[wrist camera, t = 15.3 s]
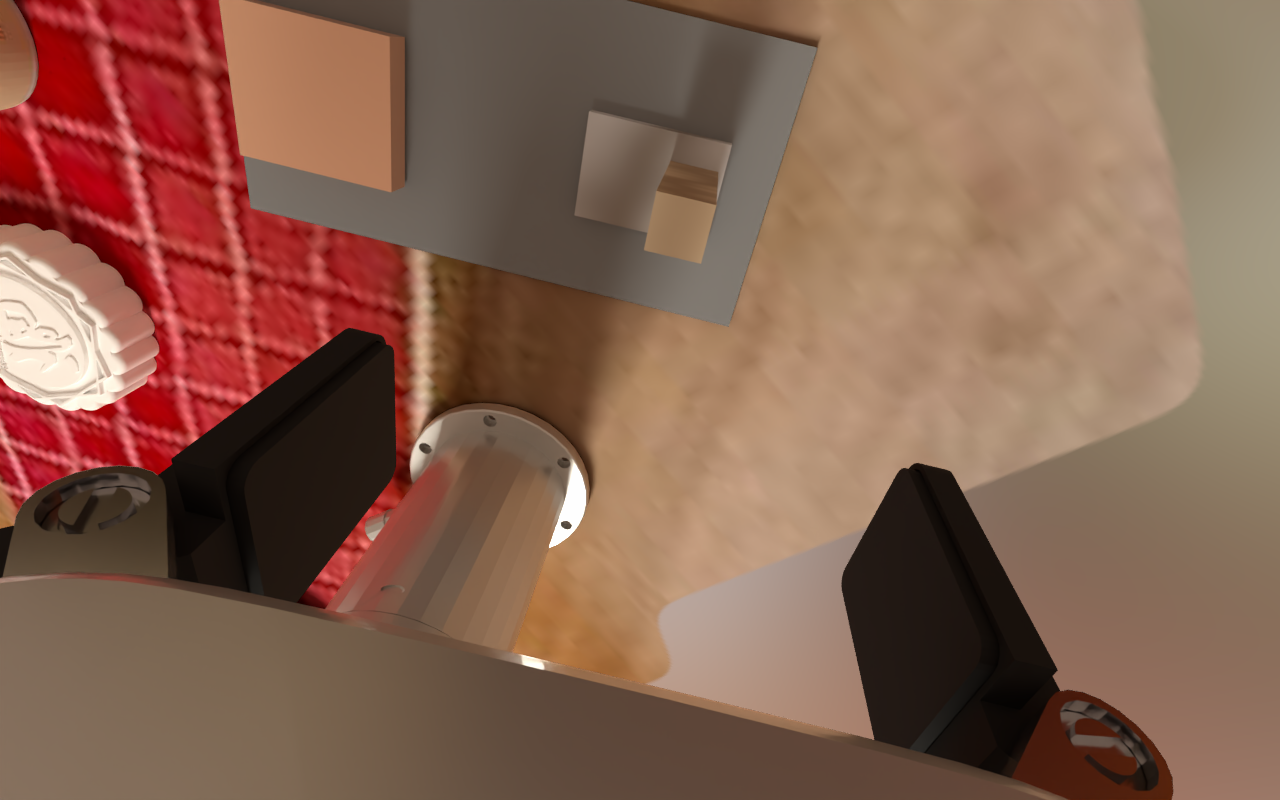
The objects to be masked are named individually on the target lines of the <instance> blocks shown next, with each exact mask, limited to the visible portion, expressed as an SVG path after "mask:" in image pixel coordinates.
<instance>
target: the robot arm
mask: <svg viewBox="0 0 1280 800" xmlns="http://www.w3.org/2000/svg"><path fill="white" fill-rule="evenodd" d="M171 460H172V465H171V466H170V467H168V468H167V469H166V470H164V471H163V472H162V473H160V474H159V475H156V474H155V473H154V472H152V471H149V470H145V469H142V468H139V467H129V466H111V467H99V468H94V469H90V470H86V471H81V472H77V473H74V474H71V475H69V476H66V477H63V478H61V479H58V480H56V481H54V482H52V483H50V484H48V485H47V486H45V487H43V488H41V489H40V490H38V491H36V492H35V493H34V494H33V495H32V496H31V497H30V498H29V499H27V500H26V501H25V502H24V503H23V504H22V506H21V508H20V510H19V512H18V514H17V516H16V519H15V524H14V526H10V527H6V528H1V529H0V800H1172V796H1173V778H1172V775H1171V773H1170V770H1169V768H1168V765H1167V763H1166V761H1165V759H1164V758H1163V756H1162V755H1161V753H1160V752H1159V750H1158V749H1157V748H1156V746H1155V745H1154V743H1153V742H1152V741H1151V740H1150V739H1149V738H1148V737H1147V736H1146V734H1145V733H1144V732H1143V731H1142V730H1141V729H1140V728H1139V727H1138V726H1137V725H1136V724H1135V723H1134V722H1132V721H1131V720H1130V719H1129V718H1127V717H1126V716H1125V715H1124V714H1123V713H1121V712H1120V711H1119V710H1117V709H1115V708H1114V707H1112V706H1111V705H1109V704H1107V703H1106V702H1104V701H1102V700H1101V699H1099V698H1096V697H1094V696H1091V695H1089V694H1086V693H1084V692H1078V691H1073V690H1064V691H1060V690H1059V688H1058V686H1057V684H1056V682H1055V680H1054V678H1053V675H1054V674H1055V672H1056V671H1057V668H1056V666H1055V664H1054V662H1053V660H1052V658H1051V657H1050V655H1049V653H1048V651H1047V649H1046V647H1045V645H1044V644H1043V642H1042V640H1041V638H1040V636H1039V634H1038V632H1037V631H1036V629H1035V627H1034V625H1033V623H1032V621H1031V619H1030V617H1029V616H1028V614H1027V612H1026V610H1025V608H1024V606H1023V604H1022V603H1021V601H1020V599H1019V597H1018V595H1017V593H1016V591H1015V590H1014V588H1013V586H1012V584H1011V582H1010V580H1009V578H1008V576H1007V575H1006V573H1005V571H1004V569H1003V567H1002V565H1001V564H1000V561H999V560H998V558H997V556H996V554H995V552H994V550H993V548H992V547H991V545H990V543H989V541H988V539H987V537H986V535H985V534H984V532H983V530H982V528H981V526H980V524H979V522H978V521H977V519H976V517H975V515H974V513H973V511H972V509H971V508H970V506H969V504H968V502H967V500H966V498H965V496H964V494H963V492H962V491H961V489H960V487H959V485H958V483H957V481H956V479H955V478H954V476H953V474H952V473H951V472H950V471H948V470H945V469H941V468H937V467H932V466H928V465H924V464H920V463H915V464H913V465H912V466H911V467H910V468H909V469H906V468H903V469H901V470H900V471H899V472H898V473H897V475H896V477H895V479H894V480H893V482H892V484H891V486H890V488H889V489H888V491H887V493H886V495H885V497H884V499H883V500H882V502H881V504H880V506H879V508H878V510H877V511H876V513H875V515H874V517H873V519H872V520H871V522H870V524H869V526H868V528H867V530H866V532H865V533H864V535H863V537H862V539H861V540H860V542H859V544H858V546H857V548H856V550H855V551H854V553H853V555H852V557H851V559H850V561H849V562H848V564H847V566H846V568H845V570H844V572H843V576H842V593H843V597H844V602H845V606H846V611H847V615H848V620H849V625H850V629H851V634H852V639H853V643H854V648H855V652H856V656H857V661H858V666H859V671H860V675H861V680H862V684H863V689H864V694H865V698H866V703H867V707H868V712H869V717H870V721H871V726H872V730H873V735H874V740H872V739H868V738H864V737H860V736H856V735H852V734H848V733H844V732H840V731H836V730H831V729H827V728H824V727H820V726H815V725H811V724H807V723H803V722H799V721H795V720H791V719H787V718H782V717H779V716H774V715H770V714H766V713H762V712H758V711H754V710H750V709H746V708H741V707H738V706H734V705H729V704H725V703H721V702H717V701H713V700H709V699H705V698H701V697H696V696H692V695H688V694H684V693H680V692H676V691H671V690H667V689H663V688H659V687H655V686H651V685H646V684H642V683H638V682H634V681H630V680H626V679H621V678H617V677H613V676H609V675H605V674H600V673H596V672H592V671H588V670H584V669H579V668H575V667H571V666H567V665H563V664H558V663H554V662H550V661H546V660H541V659H537V658H533V657H529V656H525V655H520V654H516V653H512V652H513V649H514V646H515V643H516V640H517V638H518V635H519V632H520V629H521V626H522V623H523V621H524V618H525V615H526V612H527V609H528V606H529V603H530V601H531V598H532V595H533V592H534V589H535V586H536V584H537V581H538V578H539V575H540V572H541V569H542V566H543V564H544V561H545V558H546V555H547V552H548V549H549V548H550V547H553V546H555V545H557V544H559V543H561V542H562V541H564V540H565V539H567V538H568V537H569V536H570V535H571V534H572V533H573V532H574V531H575V530H576V529H577V528H578V526H579V524H580V523H581V521H582V519H583V517H584V515H585V511H586V508H587V505H588V500H589V491H590V487H589V480H588V474H587V471H586V469H585V466H584V463H583V461H582V459H581V458H580V456H579V454H578V453H577V451H576V449H575V448H574V447H573V446H572V444H571V443H570V442H569V441H568V440H567V439H566V438H565V437H564V435H563V434H561V433H560V432H559V431H558V430H556V429H555V428H554V427H553V426H551V425H550V424H549V423H547V422H545V421H544V420H542V419H540V418H538V417H537V416H535V415H533V414H531V413H528V412H525V411H523V410H520V409H518V408H515V407H510V406H505V405H501V404H492V403H475V404H466V405H461V406H458V407H455V408H452V409H449V410H447V411H445V412H444V413H442V414H440V415H438V416H437V417H435V418H434V419H433V420H432V421H431V422H430V423H429V424H428V425H427V426H426V427H425V428H424V430H423V431H422V433H421V434H420V435H419V437H418V438H417V439H416V442H415V444H414V446H413V449H412V451H411V457H410V474H411V480H412V483H413V486H412V487H411V488H410V490H409V491H408V493H407V494H406V496H405V497H404V498H403V500H402V501H401V502H399V503H398V505H397V508H395V509H390V510H387V511H385V512H382V513H380V514H377V515H374V516H372V517H369V519H368V520H367V521H366V525H365V530H366V534H367V536H368V537H369V538H370V540H372V541H373V542H372V543H371V545H370V546H369V548H368V549H367V550H366V552H365V553H364V555H363V556H362V557H361V559H360V560H359V562H358V563H357V565H356V566H355V567H354V569H353V570H352V572H351V573H350V574H349V576H348V577H347V579H346V580H345V581H344V583H343V584H342V586H341V587H340V588H339V590H338V591H337V593H336V594H335V596H334V597H333V598H332V600H331V601H330V603H329V604H328V605H327V607H326V608H325V609H322V608H317V607H313V606H308V605H303V604H299V603H297V602H298V600H299V599H300V598H301V596H302V595H303V594H304V593H305V591H306V590H307V589H308V587H309V586H310V585H311V583H312V582H313V581H314V580H315V578H316V577H317V576H318V574H319V573H320V572H321V570H322V569H323V568H324V567H325V565H326V564H327V563H328V561H329V560H330V559H331V557H332V556H333V555H334V554H335V552H336V551H337V550H338V548H339V547H340V546H341V544H342V543H343V542H344V541H345V539H346V538H347V537H348V535H349V534H350V533H351V531H352V530H353V529H354V528H355V526H356V525H357V524H358V522H359V521H360V520H361V518H362V517H363V516H364V515H365V513H366V512H367V511H368V509H369V508H370V507H371V505H372V504H373V503H374V502H375V500H376V499H377V498H378V496H379V495H380V494H381V493H382V491H383V490H384V489H385V487H386V486H387V485H388V483H389V482H390V480H391V479H392V477H393V474H394V471H395V467H396V427H395V372H394V350H393V348H392V347H391V346H390V345H386V342H385V339H384V337H382V336H381V335H378V334H374V333H369V332H365V331H361V330H357V329H353V328H348V329H346V330H344V331H343V332H341V333H340V334H338V335H337V336H336V337H334V338H333V339H332V340H330V341H329V342H328V343H326V344H325V345H324V346H322V347H321V348H320V349H318V350H317V351H316V352H314V353H313V354H312V355H310V356H309V357H308V358H306V359H305V360H304V361H302V362H301V363H300V364H298V365H297V366H296V367H294V368H293V369H291V370H290V371H289V372H287V373H286V374H285V375H283V376H282V377H281V378H279V379H278V380H277V381H275V382H274V383H273V384H271V385H270V386H269V387H267V388H266V389H265V390H263V391H262V392H261V393H259V394H258V395H257V396H255V397H254V398H253V399H251V400H250V401H249V402H247V403H246V404H244V405H243V406H242V407H240V408H239V409H238V410H236V411H235V412H234V413H232V414H231V415H230V416H228V417H227V418H226V419H224V420H223V421H222V422H220V423H219V424H218V425H216V426H215V427H214V428H212V429H211V430H210V431H208V432H207V433H206V434H204V435H203V436H202V437H200V438H199V439H197V440H196V441H195V442H193V443H192V444H191V445H189V446H188V447H187V448H185V449H184V450H183V451H181V452H180V453H179V454H177V455H176V456H175V457H173V458H172V459H171Z"/></svg>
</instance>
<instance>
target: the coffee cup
mask: <svg viewBox="0 0 1280 800" xmlns="http://www.w3.org/2000/svg"><path fill="white" fill-rule="evenodd" d="M37 78H38V59H37V52H36V48H35V44H34V41H33V38H32V35H31V33H30V30H29V28H28V26H27V23H26V21H25V20H24V17H23V15H22V14H21V12H20V10H19V8H18V7H17V5H16V4H15V3H14V1H13V0H0V110H3V109H8V108H12V107H15V106H17V105H19V104H21V103H23V102H25V101H26V100H27V99H28V98H29V97H30V95H31V94H32V93H33V91H34V89H35V86H36V83H37Z"/></svg>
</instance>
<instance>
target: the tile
mask: <svg viewBox="0 0 1280 800" xmlns="http://www.w3.org/2000/svg"><path fill="white" fill-rule="evenodd" d="M219 5H220V12H221V19H222V27H223V34H224V41H225V48H226V55H227V63H228V70H229V77H230V84H231V91H232V99H233V106H234V113H235V120H236V128H237V135H238V142H239V149H240V155H243V156H247V157H251V158H255V159H259V160H263V161H267V162H271V163H275V164H279V165H283V166H287V167H291V168H295V169H299V170H303V171H307V172H311V173H315V174H319V175H323V176H327V177H331V178H335V179H339V180H343V181H348V182H352V183H356V184H360V185H364V186H368V187H372V188H376V189H380V190H384V191H388V192H394V191H396V190H398V189H400V188H403V187H405V37H403V36H399V35H395V34H391V33H387V32H383V31H379V30H375V29H371V28H367V27H363V26H359V25H355V24H351V23H347V22H343V21H339V20H335V19H331V18H327V17H323V16H319V15H315V14H311V13H307V12H303V11H299V10H295V9H291V8H287V7H283V6H279V5H275V4H270V3H266V2H262V1H258V0H219Z"/></svg>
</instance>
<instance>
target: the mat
mask: <svg viewBox="0 0 1280 800" xmlns="http://www.w3.org/2000/svg"><path fill="white" fill-rule="evenodd" d="M258 1H262V2H266V3H270V4H275V5H279V6H283V7H287V8H291V9H295V10H299V11H303V12H307V13H311V14H315V15H319V16H323V17H327V18H331V19H335V20H339V21H343V22H347V23H351V24H355V25H359V26H363V27H367V28H371V29H375V30H379V31H383V32H387V33H391V34H395V35H399V36H403V37H405V187H403V188H400V189H398V190H396V191H394V192H388V191H384V190H380V189H376V188H372V187H368V186H364V185H360V184H356V183H352V182H348V181H343V180H339V179H335V178H331V177H327V176H323V175H319V174H315V173H311V172H307V171H303V170H299V169H295V168H291V167H287V166H283V165H279V164H275V163H271V162H267V161H263V160H259V159H255V158H251V157H247V156H244V162H245V169H246V176H247V184H248V191H249V198H250V206H251V208H252V209H256V210H260V211H264V212H268V213H272V214H276V215H281V216H285V217H289V218H293V219H297V220H301V221H305V222H309V223H313V224H317V225H321V226H325V227H329V228H333V229H337V230H341V231H345V232H349V233H353V234H357V235H361V236H365V237H369V238H373V239H377V240H381V241H385V242H389V243H393V244H397V245H401V246H405V247H410V248H414V249H418V250H422V251H426V252H430V253H434V254H438V255H442V256H446V257H450V258H454V259H458V260H462V261H466V262H470V263H474V264H478V265H482V266H486V267H490V268H494V269H498V270H502V271H506V272H510V273H514V274H518V275H522V276H526V277H530V278H534V279H538V280H543V281H547V282H551V283H555V284H559V285H563V286H567V287H571V288H575V289H579V290H583V291H587V292H591V293H595V294H599V295H603V296H607V297H611V298H615V299H619V300H623V301H627V302H631V303H635V304H639V305H643V306H647V307H651V308H655V309H659V310H663V311H667V312H672V313H676V314H680V315H684V316H688V317H692V318H696V319H700V320H704V321H708V322H712V323H716V324H720V325H724V326H728V327H729V324H730V321H731V317H732V314H733V311H734V308H735V305H736V302H737V299H738V295H739V292H740V289H741V286H742V283H743V280H744V277H745V273H746V270H747V267H748V264H749V261H750V258H751V255H752V252H753V248H754V245H755V242H756V239H757V236H758V233H759V230H760V226H761V223H762V220H763V217H764V214H765V211H766V208H767V204H768V201H769V198H770V195H771V192H772V189H773V186H774V183H775V179H776V176H777V173H778V170H779V167H780V164H781V161H782V157H783V154H784V151H785V148H786V145H787V142H788V139H789V135H790V132H791V129H792V126H793V123H794V120H795V117H796V114H797V110H798V107H799V104H800V101H801V98H802V95H803V92H804V88H805V85H806V82H807V79H808V76H809V73H810V70H811V66H812V63H813V60H814V57H815V54H816V51H817V48H816V47H812V46H808V45H804V44H800V43H796V42H792V41H788V40H784V39H780V38H776V37H772V36H768V35H764V34H760V33H756V32H752V31H748V30H744V29H740V28H736V27H732V26H728V25H724V24H720V23H716V22H712V21H708V20H704V19H700V18H696V17H692V16H688V15H684V14H680V13H676V12H672V11H668V10H664V9H660V8H656V7H652V6H648V5H644V4H640V3H636V2H632V1H628V0H258ZM591 110H595V111H599V112H604V113H608V114H612V115H616V116H620V117H625V118H629V119H633V120H637V121H641V122H645V123H650V124H654V125H658V126H662V127H666V128H671V129H675V130H679V131H683V132H687V133H691V134H696V135H700V136H704V137H708V138H712V139H717V140H721V141H725V142H729V143H732V147H731V151H730V155H729V158H728V162H727V166H726V170H725V173H724V177H723V181H722V185H721V189H720V192H719V196H718V200H717V205H716V209H715V213H714V217H713V220H712V224H711V228H710V232H709V235H708V239H707V243H706V247H705V251H704V254H703V258H702V262H701V264H700V263H695V262H691V261H687V260H683V259H679V258H674V257H670V256H666V255H662V254H658V253H654V252H649V251H645V250H644V247H645V243H646V238H647V233H646V232H642V231H638V230H634V229H630V228H625V227H621V226H617V225H613V224H609V223H604V222H600V221H596V220H592V219H588V218H584V217H579V216H575V215H574V214H575V207H576V200H577V193H578V186H579V179H580V172H581V165H582V158H583V151H584V144H585V137H586V129H587V122H588V115H589V111H591Z"/></svg>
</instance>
